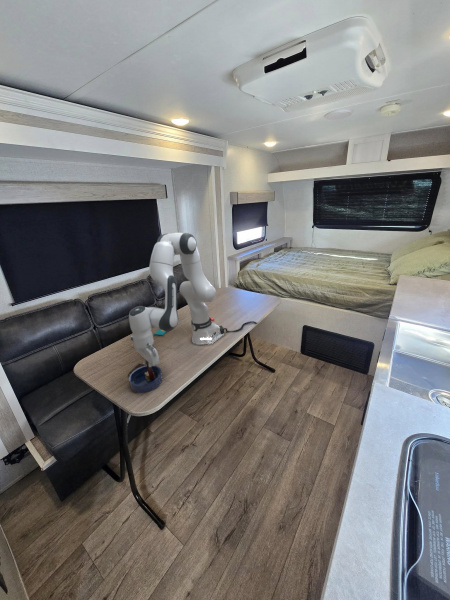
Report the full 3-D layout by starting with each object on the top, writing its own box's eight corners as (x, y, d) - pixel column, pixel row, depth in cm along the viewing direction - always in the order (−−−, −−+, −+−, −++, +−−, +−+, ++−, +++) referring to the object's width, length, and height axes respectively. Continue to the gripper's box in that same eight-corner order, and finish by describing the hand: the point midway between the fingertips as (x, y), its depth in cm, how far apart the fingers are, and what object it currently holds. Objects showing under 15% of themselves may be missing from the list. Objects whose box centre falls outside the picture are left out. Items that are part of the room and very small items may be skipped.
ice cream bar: (144, 360, 139) (127, 377, 126) (144, 358, 138) (126, 374, 125) (152, 361, 137) (135, 379, 124) (151, 359, 137) (135, 376, 124)
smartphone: (173, 325, 177) (162, 335, 163) (173, 326, 177) (162, 336, 164) (164, 324, 179) (153, 334, 165) (164, 325, 179) (153, 335, 166)
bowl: (154, 368, 131) (152, 361, 129) (168, 382, 120) (167, 374, 118) (126, 383, 122) (123, 375, 120) (138, 399, 111) (136, 390, 109)
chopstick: (152, 377, 121) (146, 351, 117) (154, 378, 120) (148, 352, 115) (149, 378, 120) (143, 352, 116) (151, 380, 119) (144, 354, 114)
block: (151, 375, 125) (150, 369, 124) (155, 378, 123) (153, 372, 121) (145, 378, 123) (144, 372, 122) (148, 381, 121) (147, 376, 119)
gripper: (160, 345, 107) (165, 371, 112) (140, 330, 122) (145, 353, 127) (147, 351, 103) (152, 377, 109) (128, 335, 118) (134, 359, 123)
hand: (148, 364), depth 118 cm, fingers closed on chopstick, 2 cm apart
